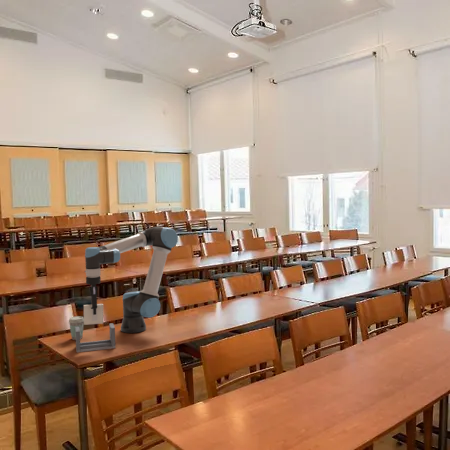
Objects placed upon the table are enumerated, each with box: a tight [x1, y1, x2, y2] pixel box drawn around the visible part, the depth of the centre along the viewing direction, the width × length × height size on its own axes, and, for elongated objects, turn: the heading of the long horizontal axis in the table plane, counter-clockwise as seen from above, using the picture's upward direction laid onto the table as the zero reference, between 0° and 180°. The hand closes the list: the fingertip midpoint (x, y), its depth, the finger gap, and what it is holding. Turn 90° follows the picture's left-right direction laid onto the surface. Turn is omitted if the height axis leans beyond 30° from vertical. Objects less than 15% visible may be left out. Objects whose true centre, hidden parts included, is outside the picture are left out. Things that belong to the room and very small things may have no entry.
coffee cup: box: [68, 315, 84, 341], centre depth 277 cm, size 9×8×12 cm
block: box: [83, 303, 104, 326], centre depth 259 cm, size 10×3×10 cm, turn 109°
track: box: [75, 323, 116, 353], centre depth 260 cm, size 20×10×11 cm, turn 109°
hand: (94, 319), depth 259 cm, fingers closed on block, 3 cm apart
